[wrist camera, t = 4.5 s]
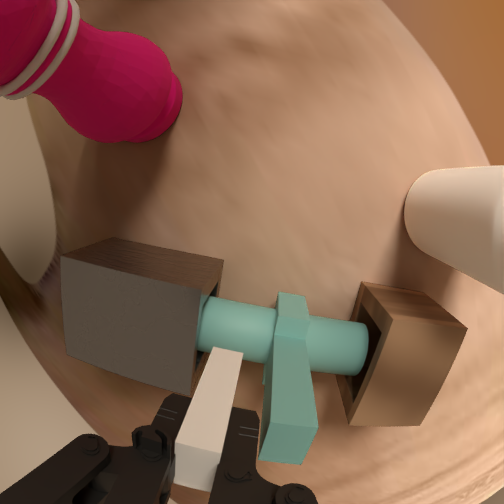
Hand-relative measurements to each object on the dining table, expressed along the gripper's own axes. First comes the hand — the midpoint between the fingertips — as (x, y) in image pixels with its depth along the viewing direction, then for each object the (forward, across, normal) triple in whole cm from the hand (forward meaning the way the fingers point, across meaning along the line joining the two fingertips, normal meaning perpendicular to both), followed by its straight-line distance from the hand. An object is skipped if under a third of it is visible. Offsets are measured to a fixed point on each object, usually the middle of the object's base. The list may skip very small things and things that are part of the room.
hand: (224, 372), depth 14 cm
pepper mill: (+8, -10, +14) cm, 19 cm away
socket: (+8, +11, 0) cm, 14 cm away
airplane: (+7, 0, 0) cm, 7 cm away
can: (+8, +13, +10) cm, 18 cm away
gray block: (+8, -6, 0) cm, 10 cm away
